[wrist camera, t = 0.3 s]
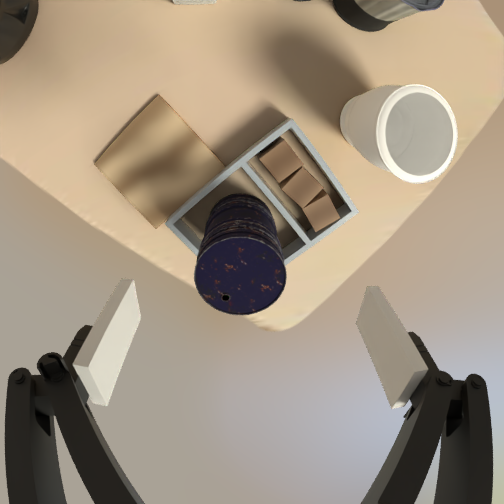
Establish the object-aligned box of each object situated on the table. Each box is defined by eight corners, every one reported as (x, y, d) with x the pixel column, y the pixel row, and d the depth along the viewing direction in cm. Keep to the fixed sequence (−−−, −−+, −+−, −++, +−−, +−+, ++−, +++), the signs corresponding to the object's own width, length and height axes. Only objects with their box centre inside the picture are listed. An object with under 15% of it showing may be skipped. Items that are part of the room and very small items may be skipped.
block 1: (257, 154, 40) (259, 159, 36) (280, 136, 38) (284, 139, 35) (275, 176, 41) (279, 182, 38) (298, 159, 40) (303, 164, 36)
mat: (95, 163, 39) (94, 164, 38) (159, 95, 35) (158, 94, 34) (157, 227, 44) (156, 229, 43) (225, 166, 40) (225, 167, 40)
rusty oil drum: (231, 179, 41) (225, 216, 28) (287, 216, 44) (306, 267, 31) (195, 233, 45) (176, 290, 31) (249, 265, 47) (252, 328, 34)
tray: (170, 215, 43) (164, 223, 40) (288, 117, 37) (292, 118, 34) (239, 284, 49) (239, 297, 46) (351, 204, 43) (359, 212, 40)
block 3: (297, 200, 43) (302, 209, 39) (320, 186, 42) (327, 194, 38) (309, 221, 44) (315, 232, 41) (332, 208, 44) (340, 217, 40)
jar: (366, 171, 41) (417, 204, 27) (317, 123, 38) (355, 133, 24) (408, 123, 37) (472, 138, 24) (363, 73, 34) (419, 63, 21)
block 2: (277, 181, 41) (281, 189, 38) (297, 161, 40) (302, 167, 37) (297, 199, 43) (302, 208, 39) (316, 180, 41) (323, 187, 38)
